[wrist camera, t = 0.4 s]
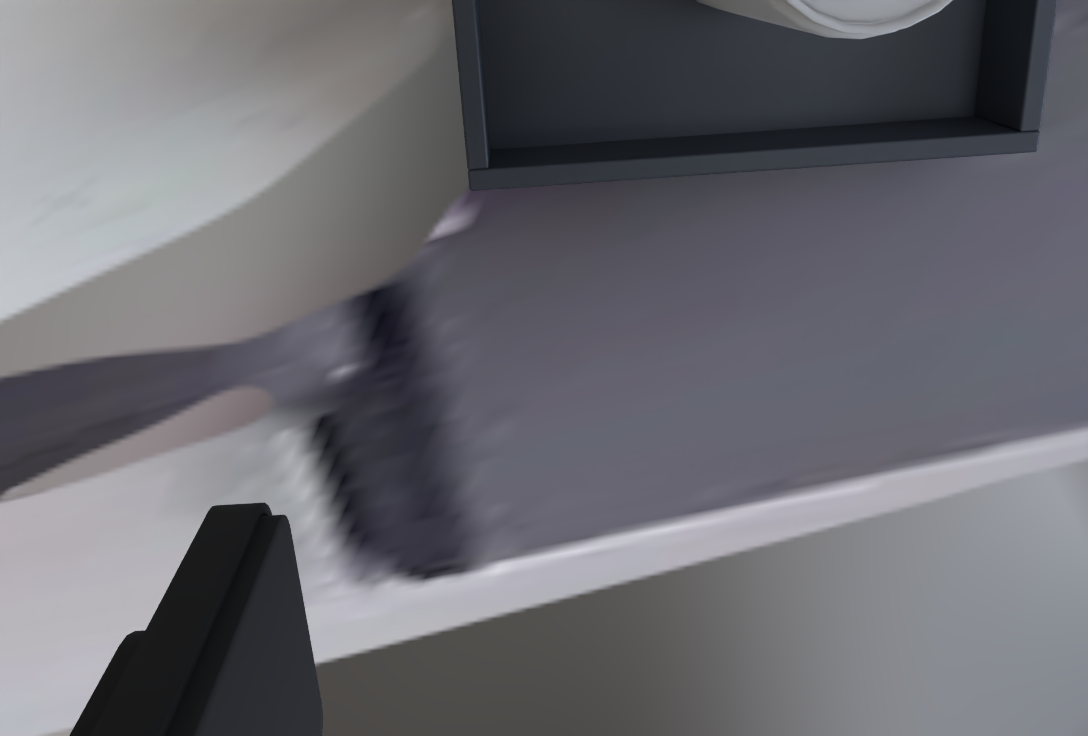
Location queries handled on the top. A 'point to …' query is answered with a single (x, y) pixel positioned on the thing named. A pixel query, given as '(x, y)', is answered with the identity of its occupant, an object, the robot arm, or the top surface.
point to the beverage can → (835, 14)
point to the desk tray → (736, 89)
